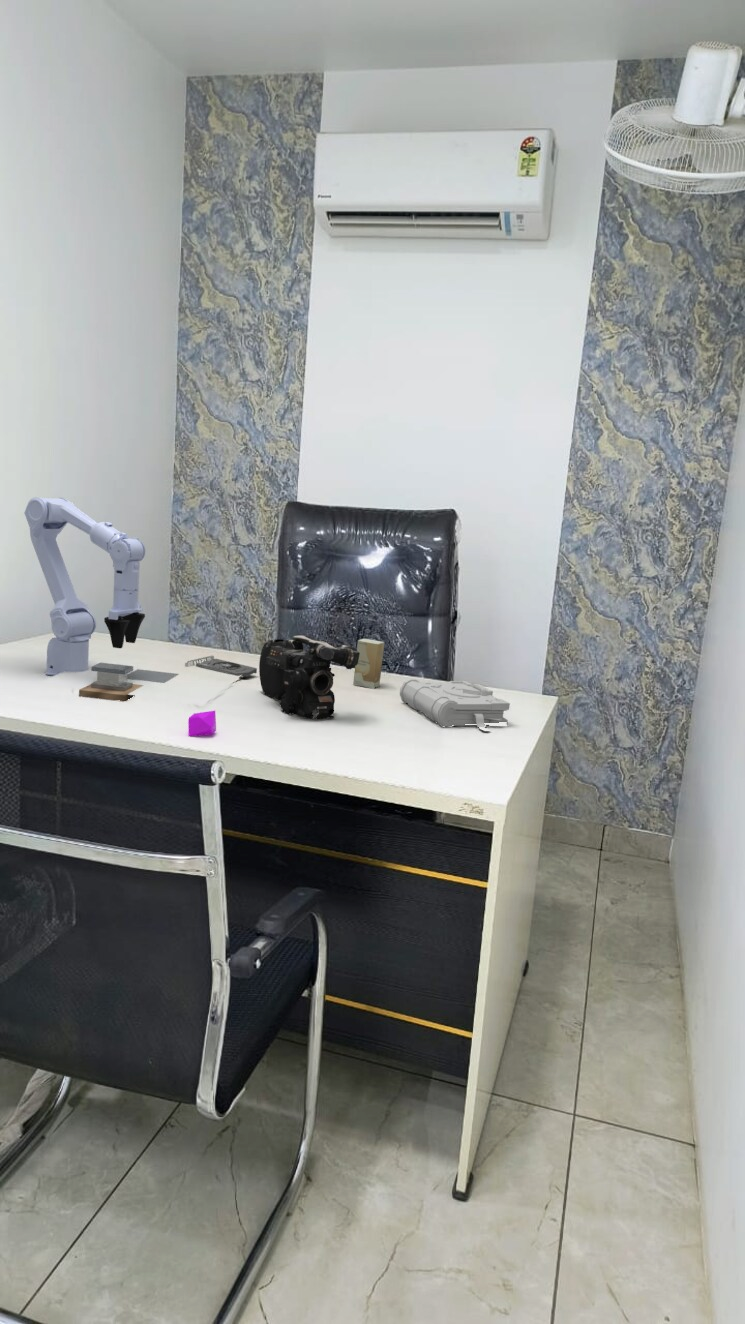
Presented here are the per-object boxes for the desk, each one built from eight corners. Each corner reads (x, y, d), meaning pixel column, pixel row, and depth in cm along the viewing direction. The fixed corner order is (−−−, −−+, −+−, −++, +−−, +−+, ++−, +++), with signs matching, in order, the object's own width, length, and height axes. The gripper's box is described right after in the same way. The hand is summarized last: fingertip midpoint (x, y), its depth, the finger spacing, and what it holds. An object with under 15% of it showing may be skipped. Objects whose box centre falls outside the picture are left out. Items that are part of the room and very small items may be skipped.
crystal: (191, 729, 192) (192, 708, 191) (217, 732, 192) (218, 710, 191) (186, 736, 187) (187, 714, 186) (212, 739, 187) (214, 717, 186)
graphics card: (181, 660, 243) (211, 654, 254) (181, 674, 244) (211, 667, 254) (231, 672, 235) (260, 665, 245) (231, 687, 236) (260, 679, 246)
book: (446, 735, 206) (450, 702, 204) (396, 703, 231) (400, 673, 230) (521, 734, 213) (525, 702, 212) (465, 703, 238) (468, 675, 237)
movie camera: (368, 717, 211) (370, 641, 208) (299, 726, 202) (300, 647, 198) (304, 690, 237) (304, 623, 234) (240, 697, 227) (239, 627, 224)
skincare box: (352, 685, 246) (356, 640, 243) (358, 682, 249) (362, 637, 247) (374, 689, 243) (378, 643, 241) (380, 686, 247) (384, 641, 245)
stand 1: (78, 696, 211) (79, 689, 210) (99, 686, 221) (99, 680, 221) (125, 701, 209) (125, 695, 209) (143, 691, 220) (143, 685, 220)
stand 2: (120, 683, 225) (120, 677, 225) (137, 674, 236) (137, 669, 236) (163, 688, 224) (164, 682, 224) (179, 679, 235) (179, 673, 234)
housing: (90, 687, 213) (91, 666, 212) (99, 683, 218) (100, 662, 217) (124, 691, 212) (125, 670, 211) (132, 687, 217) (133, 666, 216)
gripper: (129, 594, 212) (127, 652, 215) (153, 587, 226) (151, 642, 229) (100, 591, 213) (98, 648, 216) (126, 584, 227) (124, 638, 230)
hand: (124, 645), depth 223 cm, fingers open, 7 cm apart
